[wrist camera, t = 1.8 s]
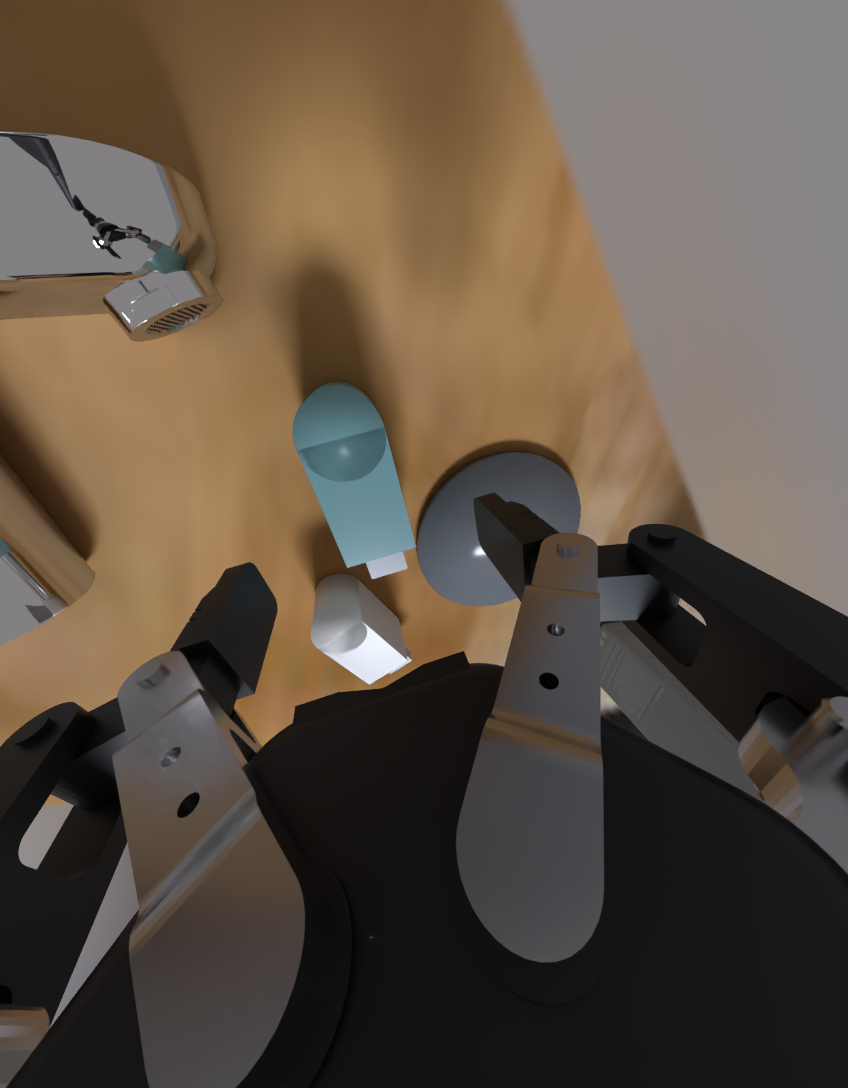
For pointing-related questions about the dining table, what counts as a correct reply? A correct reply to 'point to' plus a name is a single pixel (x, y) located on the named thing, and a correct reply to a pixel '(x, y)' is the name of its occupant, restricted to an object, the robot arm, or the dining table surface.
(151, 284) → the chrome faucet
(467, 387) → the dining table surface
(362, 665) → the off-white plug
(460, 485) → the slate coaster
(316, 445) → the teal plug
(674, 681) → the skincare box
